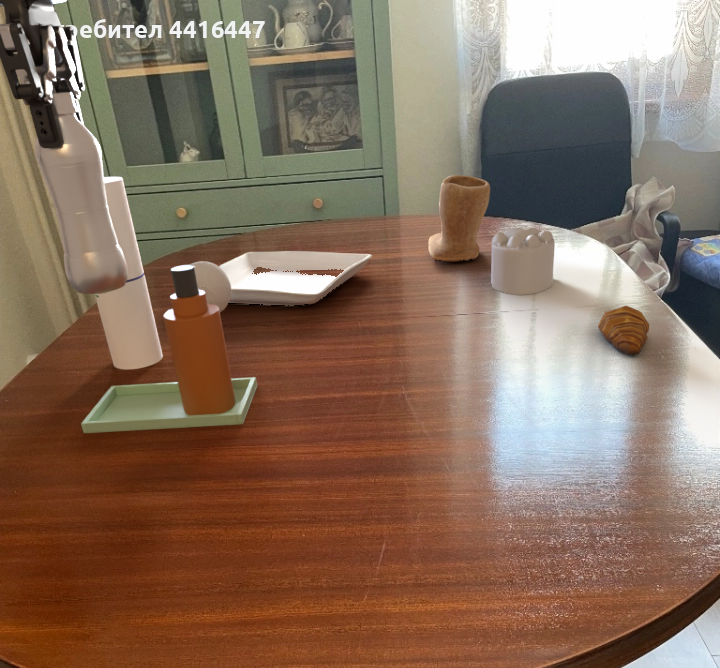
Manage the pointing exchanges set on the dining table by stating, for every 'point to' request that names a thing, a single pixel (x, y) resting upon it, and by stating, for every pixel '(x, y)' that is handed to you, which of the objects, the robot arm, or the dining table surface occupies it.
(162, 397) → the tray
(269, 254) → the square plate
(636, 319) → the croissant
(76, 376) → the dining table surface
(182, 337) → the amber bottle
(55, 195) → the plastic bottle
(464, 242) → the clay boot
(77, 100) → the robot arm
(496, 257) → the lumpy-topped squat cylinder
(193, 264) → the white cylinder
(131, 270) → the cylindrical container
